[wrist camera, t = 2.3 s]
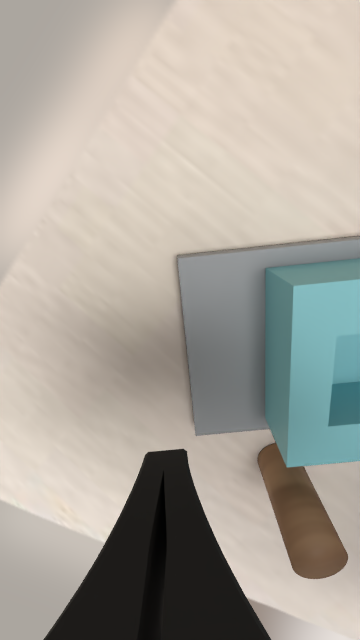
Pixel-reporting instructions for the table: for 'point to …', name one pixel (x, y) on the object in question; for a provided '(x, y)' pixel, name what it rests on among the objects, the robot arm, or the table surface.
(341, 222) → the table surface
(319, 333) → the teal block
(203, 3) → the table surface
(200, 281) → the slate board
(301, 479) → the walnut dowel
